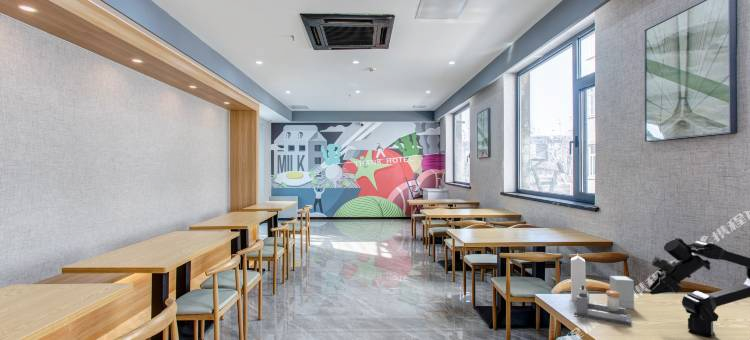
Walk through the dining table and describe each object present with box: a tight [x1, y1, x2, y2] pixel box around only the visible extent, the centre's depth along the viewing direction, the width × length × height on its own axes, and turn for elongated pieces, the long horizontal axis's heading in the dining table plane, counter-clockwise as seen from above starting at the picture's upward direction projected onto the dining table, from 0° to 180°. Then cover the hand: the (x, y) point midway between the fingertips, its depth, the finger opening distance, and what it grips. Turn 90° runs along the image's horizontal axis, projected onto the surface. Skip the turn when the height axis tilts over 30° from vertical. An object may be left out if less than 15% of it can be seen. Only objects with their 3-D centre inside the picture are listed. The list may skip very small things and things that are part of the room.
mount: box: [573, 291, 632, 327], centre depth 157 cm, size 20×10×8 cm, turn 57°
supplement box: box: [609, 275, 635, 309], centre depth 170 cm, size 7×7×13 cm
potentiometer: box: [579, 285, 588, 296], centre depth 161 cm, size 3×3×4 cm
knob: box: [605, 289, 620, 314], centre depth 155 cm, size 5×6×9 cm
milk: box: [570, 252, 587, 302], centre depth 179 cm, size 6×6×22 cm
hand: (650, 291), depth 148 cm, fingers open, 6 cm apart
